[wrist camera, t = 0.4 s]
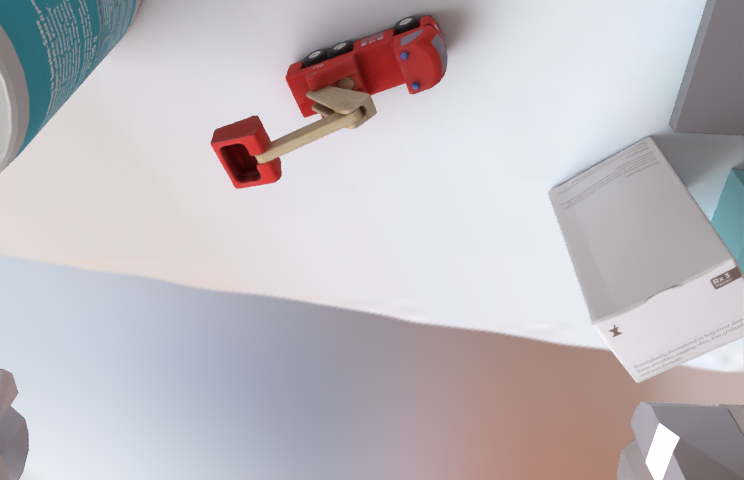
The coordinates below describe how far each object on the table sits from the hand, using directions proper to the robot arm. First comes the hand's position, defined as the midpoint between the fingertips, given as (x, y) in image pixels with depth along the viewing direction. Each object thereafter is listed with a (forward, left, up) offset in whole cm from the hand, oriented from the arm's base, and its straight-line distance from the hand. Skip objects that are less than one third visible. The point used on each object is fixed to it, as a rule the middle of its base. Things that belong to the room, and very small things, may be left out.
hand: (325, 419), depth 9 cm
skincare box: (+19, +17, -38) cm, 46 cm away
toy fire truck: (+11, -2, -38) cm, 40 cm away
